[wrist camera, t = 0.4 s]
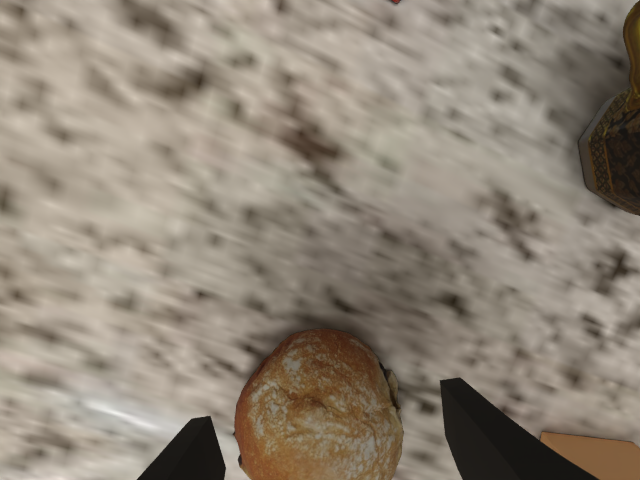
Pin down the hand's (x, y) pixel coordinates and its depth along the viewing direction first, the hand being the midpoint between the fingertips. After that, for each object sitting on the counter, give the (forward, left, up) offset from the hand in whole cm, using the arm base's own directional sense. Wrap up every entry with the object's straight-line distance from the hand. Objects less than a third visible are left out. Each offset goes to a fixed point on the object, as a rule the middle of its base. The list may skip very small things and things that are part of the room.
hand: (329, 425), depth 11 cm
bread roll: (-6, 0, -11) cm, 13 cm away
